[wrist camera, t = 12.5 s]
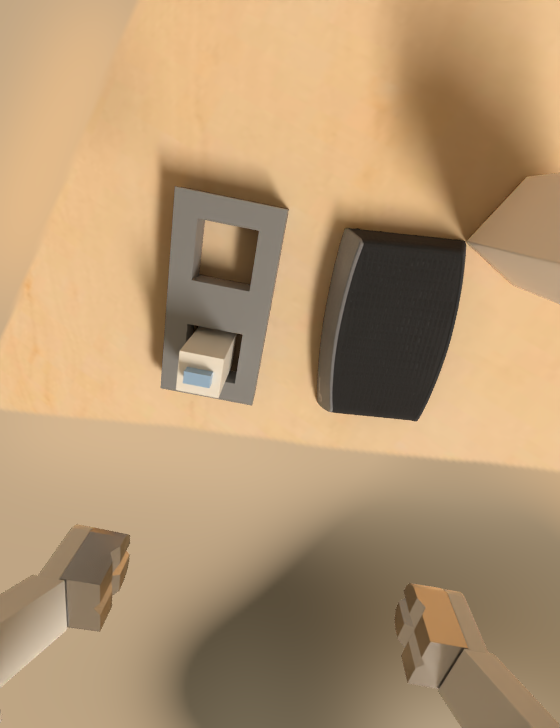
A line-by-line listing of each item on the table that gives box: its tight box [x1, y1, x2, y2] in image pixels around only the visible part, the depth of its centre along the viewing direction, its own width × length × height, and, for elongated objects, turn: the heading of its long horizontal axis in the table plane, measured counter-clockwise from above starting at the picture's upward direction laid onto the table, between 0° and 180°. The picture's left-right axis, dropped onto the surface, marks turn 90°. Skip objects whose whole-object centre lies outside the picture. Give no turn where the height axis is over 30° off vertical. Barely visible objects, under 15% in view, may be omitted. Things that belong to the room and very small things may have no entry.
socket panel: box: [161, 187, 289, 405], centre depth 38 cm, size 20×10×3 cm, turn 169°
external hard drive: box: [317, 228, 466, 421], centre depth 39 cm, size 13×19×4 cm
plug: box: [176, 326, 237, 398], centre depth 38 cm, size 4×4×9 cm
